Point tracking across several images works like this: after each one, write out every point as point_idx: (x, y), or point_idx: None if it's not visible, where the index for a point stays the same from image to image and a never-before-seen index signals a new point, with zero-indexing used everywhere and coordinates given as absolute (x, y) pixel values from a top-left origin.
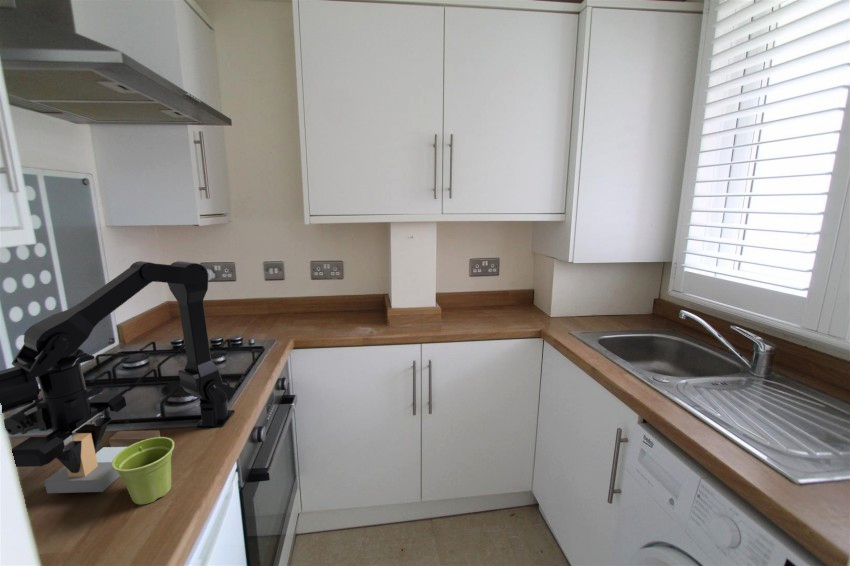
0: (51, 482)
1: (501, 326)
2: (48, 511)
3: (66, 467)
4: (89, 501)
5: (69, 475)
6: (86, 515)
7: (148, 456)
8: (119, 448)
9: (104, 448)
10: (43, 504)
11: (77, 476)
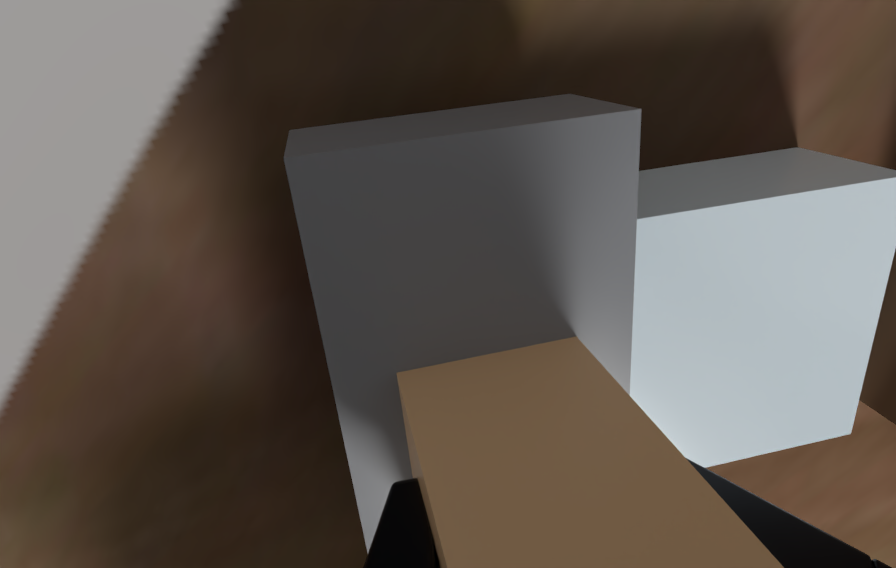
0: (302, 241)
1: None
2: (174, 262)
3: (364, 565)
4: (330, 454)
5: (400, 396)
6: (214, 545)
7: None
8: (851, 350)
9: (888, 206)
10: (230, 130)
11: (409, 456)
